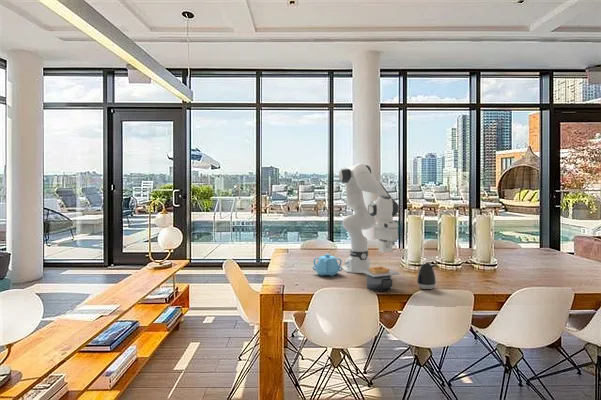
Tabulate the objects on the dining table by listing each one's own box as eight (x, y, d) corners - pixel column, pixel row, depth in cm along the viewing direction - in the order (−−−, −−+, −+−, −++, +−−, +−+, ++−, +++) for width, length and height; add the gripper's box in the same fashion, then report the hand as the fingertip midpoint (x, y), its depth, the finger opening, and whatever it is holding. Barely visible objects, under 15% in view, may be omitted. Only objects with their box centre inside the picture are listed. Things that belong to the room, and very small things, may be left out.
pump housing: (378, 251, 249) (378, 240, 249) (391, 250, 252) (391, 239, 252) (383, 252, 244) (383, 241, 244) (396, 251, 248) (396, 240, 247)
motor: (359, 286, 250) (359, 269, 250) (383, 283, 256) (383, 267, 255) (376, 294, 233) (376, 276, 233) (400, 291, 239) (400, 273, 239)
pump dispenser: (435, 291, 236) (435, 264, 236) (416, 290, 240) (416, 263, 240) (436, 287, 246) (437, 261, 245) (418, 285, 250) (418, 260, 249)
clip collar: (368, 270, 247) (368, 267, 247) (381, 269, 250) (381, 266, 250) (375, 273, 240) (375, 270, 240) (389, 271, 243) (389, 269, 243)
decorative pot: (344, 275, 278) (344, 255, 278) (323, 278, 271) (322, 257, 270) (331, 271, 293) (331, 251, 292) (311, 273, 286) (310, 253, 285)
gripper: (370, 222, 255) (371, 245, 256) (390, 225, 237) (390, 250, 237) (379, 221, 258) (380, 244, 258) (399, 224, 239) (400, 249, 240)
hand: (385, 247), depth 248 cm, fingers closed on pump housing, 5 cm apart
